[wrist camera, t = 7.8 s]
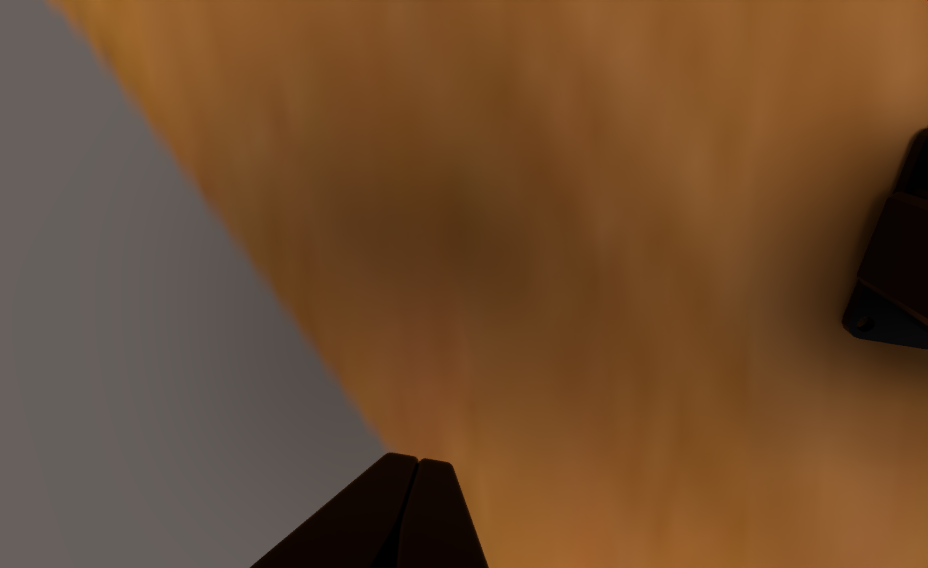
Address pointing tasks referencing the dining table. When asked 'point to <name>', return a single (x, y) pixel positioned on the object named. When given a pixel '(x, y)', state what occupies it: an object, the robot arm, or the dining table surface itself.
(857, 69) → the dining table surface
